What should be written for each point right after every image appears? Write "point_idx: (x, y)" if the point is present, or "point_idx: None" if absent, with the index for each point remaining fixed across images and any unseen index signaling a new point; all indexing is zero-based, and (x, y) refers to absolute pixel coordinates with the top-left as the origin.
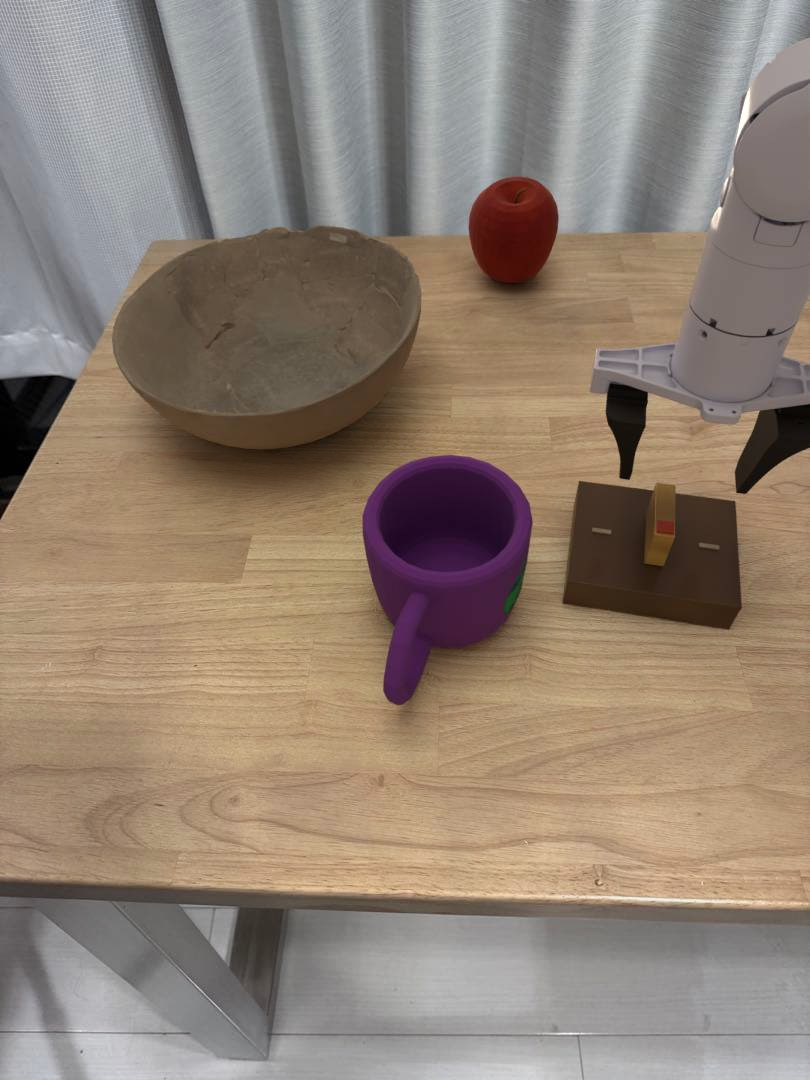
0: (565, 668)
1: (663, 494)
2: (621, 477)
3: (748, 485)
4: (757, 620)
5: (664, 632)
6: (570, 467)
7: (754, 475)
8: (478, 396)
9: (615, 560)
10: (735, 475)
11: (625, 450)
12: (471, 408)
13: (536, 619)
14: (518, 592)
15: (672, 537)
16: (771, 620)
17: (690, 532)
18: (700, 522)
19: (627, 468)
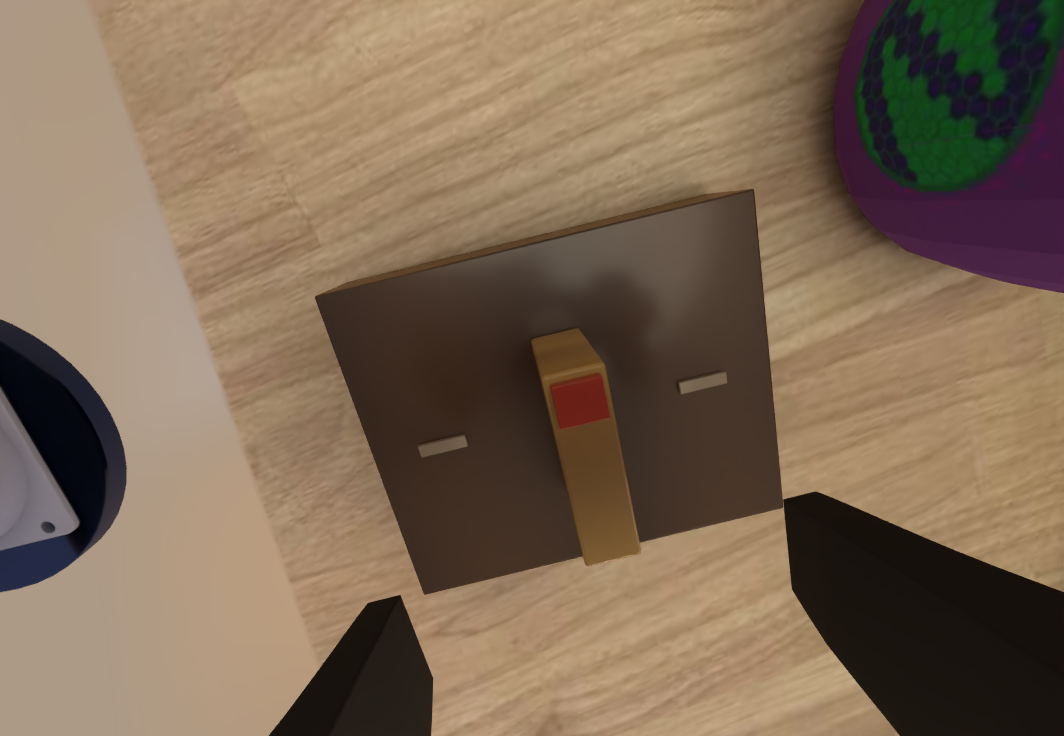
0: (660, 6)
1: (612, 520)
2: (821, 495)
3: (354, 641)
4: (299, 334)
5: (473, 214)
6: (766, 551)
7: (325, 702)
8: None
9: (648, 309)
10: (425, 664)
11: (1025, 598)
12: None
13: (755, 121)
14: (903, 49)
15: (548, 375)
16: (273, 346)
17: (496, 468)
18: (481, 505)
19: (861, 526)
